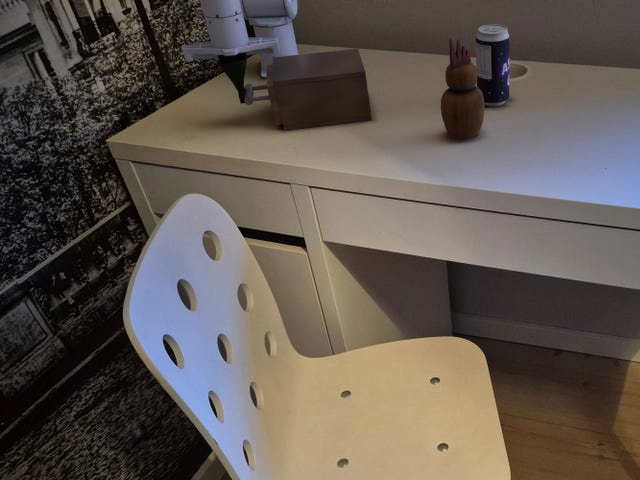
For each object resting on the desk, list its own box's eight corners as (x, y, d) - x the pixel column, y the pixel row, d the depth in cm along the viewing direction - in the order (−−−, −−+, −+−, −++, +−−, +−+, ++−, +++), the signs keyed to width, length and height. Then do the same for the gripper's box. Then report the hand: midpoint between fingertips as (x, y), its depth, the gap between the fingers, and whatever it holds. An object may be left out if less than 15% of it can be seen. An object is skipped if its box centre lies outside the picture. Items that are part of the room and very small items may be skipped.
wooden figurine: (450, 146, 105) (445, 45, 95) (437, 132, 109) (431, 34, 99) (490, 137, 107) (488, 38, 97) (475, 124, 111) (473, 27, 101)
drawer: (249, 127, 110) (239, 89, 105) (250, 104, 117) (241, 67, 113) (357, 115, 112) (351, 77, 108) (351, 92, 120) (345, 56, 116)
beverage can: (506, 108, 115) (506, 34, 107) (474, 107, 116) (472, 33, 108) (511, 96, 119) (512, 24, 111) (480, 94, 120) (479, 22, 112)
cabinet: (284, 130, 111) (273, 81, 105) (282, 104, 119) (272, 57, 114) (372, 120, 113) (365, 71, 107) (364, 95, 121) (358, 48, 116)
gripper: (170, 24, 98) (198, 114, 108) (271, 16, 101) (289, 105, 110) (175, 11, 104) (201, 98, 113) (271, 3, 106) (288, 90, 115)
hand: (245, 101), depth 112 cm, fingers closed, pressing on drawer
